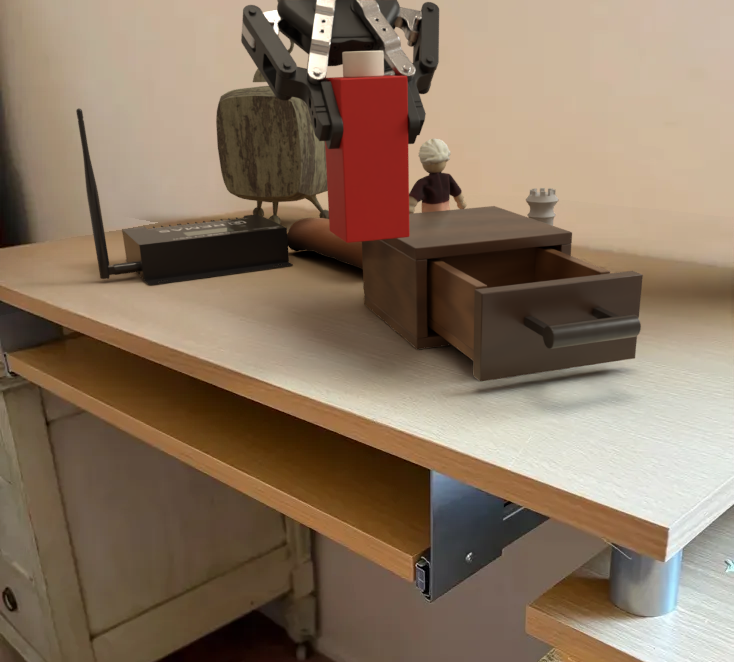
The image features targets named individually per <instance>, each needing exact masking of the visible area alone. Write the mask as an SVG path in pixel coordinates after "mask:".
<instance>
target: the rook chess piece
mask: <svg viewBox="0 0 734 662" xmlns="http://www.w3.org/2000/svg"><path fill="white" fill-rule="evenodd" d="M559 201H560V200H559V197H558V196H557V195H556V189H555V188H551V187H548V188H547V191H546V187H540V188H539V191H538V188H531V189H529V194H528V195H527V197H526V198H525V202H526V204H527V205H528V207H529V212H528V213H527V214H526V215H527V216H526V217H528V218H531V219H534V220H537V221H540V222H543V223H546V224H549V225H552V226H554V219H555V217H556V216H557V215H556V212H555V211H554V209H555V207H556V205H557V203H558V202H559Z"/></svg>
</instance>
